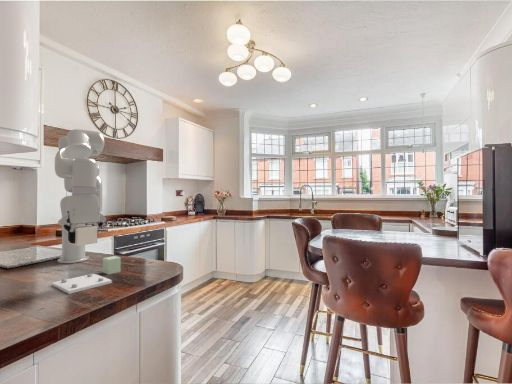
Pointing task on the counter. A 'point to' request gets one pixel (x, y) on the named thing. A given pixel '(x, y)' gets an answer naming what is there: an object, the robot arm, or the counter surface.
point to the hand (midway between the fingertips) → (83, 241)
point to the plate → (81, 283)
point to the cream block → (85, 235)
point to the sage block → (111, 265)
